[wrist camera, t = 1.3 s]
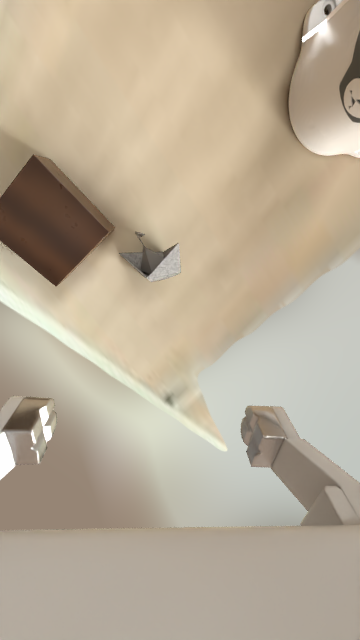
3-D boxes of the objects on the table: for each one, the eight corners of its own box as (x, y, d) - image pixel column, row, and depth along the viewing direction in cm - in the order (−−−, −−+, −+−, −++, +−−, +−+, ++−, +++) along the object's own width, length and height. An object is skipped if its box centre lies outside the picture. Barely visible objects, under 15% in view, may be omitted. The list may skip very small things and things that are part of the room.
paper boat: (129, 294, 43) (96, 251, 37) (145, 270, 46) (116, 227, 40) (189, 290, 36) (160, 238, 30) (201, 262, 40) (178, 210, 34)
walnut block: (50, 159, 34) (33, 154, 30) (115, 227, 39) (109, 232, 34) (1, 220, 37) (-20, 223, 33) (67, 276, 42) (55, 286, 37)
